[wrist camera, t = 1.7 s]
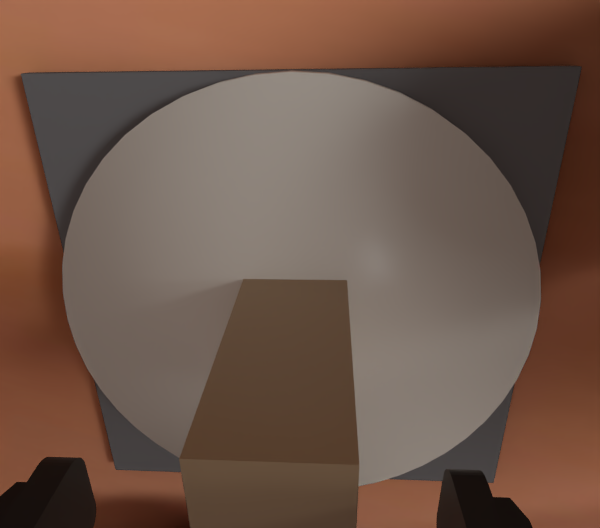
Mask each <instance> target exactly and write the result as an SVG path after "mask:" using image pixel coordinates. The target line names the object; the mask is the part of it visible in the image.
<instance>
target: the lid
mask: <svg viewBox="0 0 600 528" xmlns="http://www.w3.org/2000/svg"><path fill="white" fill-rule="evenodd" d="M62 278H63V297H64V302H65V308H66V314H67V319H68V323H69V326H70V329H71V332H72V335H73V338H74V341H75V344H76V346H77V349H78V351H79V353H80V355H81V357H82V359H83V361H84V363H85V365H86V367H87V369H88V371H89V372H90V374H91V375H92V377H93V378H94V380H95V382H96V383H97V385H98V386H99V388H100V389H101V391H102V392H103V393H104V394H105V396H106V397H107V398H108V399H109V400H110V402H111V403H112V404H113V405H114V406H115V408H116V409H117V410H118V411H119V412H120V413H121V414H122V415H123V416H124V417H125V418H126V419H127V420H128V421H129V422H130V423H131V424H132V425H133V426H134V427H136V428H137V429H138V430H139V431H141V432H142V433H143V434H144V435H146V436H147V437H148V438H150V439H151V440H152V441H153V442H155V443H156V444H158V445H159V446H161V447H162V448H164V449H166V450H167V451H169V452H170V453H172V454H174V455H175V456H177V457H179V461H180V468H181V474H182V480H183V486H184V492H185V498H186V505H187V511H188V517H189V523H190V528H356V523H357V503H358V486H362V485H367V484H372V483H376V482H380V481H383V480H386V479H389V478H393V477H396V476H399V475H402V474H404V473H406V472H409V471H411V470H413V469H416V468H418V467H421V466H423V465H425V464H427V463H428V462H430V461H432V460H434V459H436V458H437V457H439V456H441V455H443V454H445V453H446V452H448V451H449V450H451V449H452V448H453V447H455V446H456V445H458V444H459V443H460V442H462V441H463V440H465V439H466V438H467V437H468V436H470V435H471V434H472V433H473V432H474V431H475V430H476V429H477V428H478V427H479V426H481V425H482V424H483V423H484V422H485V421H486V420H487V419H488V418H489V417H490V415H491V414H492V413H493V412H494V411H495V410H496V408H497V407H498V406H499V405H500V404H501V403H502V401H503V400H504V399H505V397H506V396H507V394H508V393H509V391H510V389H511V388H512V386H513V385H514V383H515V382H516V380H517V379H518V377H519V375H520V372H521V370H522V368H523V366H524V364H525V362H526V360H527V358H528V355H529V353H530V349H531V346H532V343H533V340H534V336H535V333H536V330H537V324H538V317H539V311H540V304H541V271H540V266H539V260H538V254H537V248H536V242H535V240H534V237H533V234H532V231H531V228H530V225H529V222H528V219H527V216H526V213H525V211H524V209H523V208H522V206H521V204H520V202H519V200H518V198H517V196H516V194H515V192H514V191H513V189H512V187H511V185H510V184H509V182H508V181H507V180H506V178H505V177H504V176H503V174H502V173H501V172H500V170H499V169H498V168H497V166H496V165H495V164H494V162H493V161H492V160H491V158H490V157H489V156H488V155H487V154H486V153H485V152H484V151H483V150H482V149H481V148H480V147H479V146H478V145H477V144H476V143H475V142H474V141H473V140H472V139H471V138H470V137H468V136H467V135H466V134H465V133H464V132H463V131H461V130H460V129H459V128H457V127H456V126H455V125H453V124H452V123H450V122H449V121H448V120H446V119H445V118H444V117H442V116H441V115H439V114H438V113H437V112H435V111H434V110H432V109H431V108H429V107H427V106H425V105H424V104H422V103H420V102H418V101H416V100H414V99H412V98H410V97H408V96H406V95H404V94H403V93H401V92H398V91H396V90H393V89H390V88H387V87H384V86H381V85H379V84H376V83H373V82H370V81H367V80H364V79H359V78H354V77H349V76H344V75H339V74H334V73H329V72H312V71H295V70H290V71H278V72H266V73H255V74H251V75H247V76H242V77H238V78H233V79H229V80H225V81H221V82H218V83H216V84H213V85H210V86H208V87H205V88H203V89H200V90H197V91H195V92H192V93H190V94H187V95H185V96H183V97H181V98H179V99H177V100H175V101H174V102H172V103H170V104H168V105H167V106H165V107H163V108H161V109H159V110H158V111H156V112H154V113H152V114H151V115H150V116H148V117H147V118H146V119H145V120H143V121H142V122H141V123H139V124H138V125H137V126H136V127H134V128H133V129H132V130H131V131H129V132H128V133H127V134H126V135H124V137H123V138H122V139H121V140H120V141H119V142H118V143H117V144H116V145H115V146H114V147H113V148H112V149H111V151H110V152H109V153H108V154H107V155H106V156H105V157H104V158H103V159H102V161H101V162H100V164H99V165H98V167H97V168H96V170H95V171H94V173H93V174H92V176H91V177H90V179H89V180H88V182H87V183H86V185H85V187H84V189H83V191H82V194H81V196H80V198H79V200H78V202H77V204H76V207H75V209H74V211H73V214H72V218H71V221H70V225H69V228H68V232H67V235H66V239H65V247H64V255H63V264H62Z"/></svg>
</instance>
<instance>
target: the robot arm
mask: <svg viewBox="0 0 600 528" xmlns="http://www.w3.org/2000/svg"><path fill="white" fill-rule="evenodd" d="M95 518H96V503H95V499H94V495H93V492H92V488H91V484H90V480H89V477H88V473H87V469H86V465H85V462H84V460H83V459H82V458H67V457H46V458H44V459H43V460H42V461H41V462H40V463H39V465H38V466H37V468H36V469H35V471H34V472H33V474H32V475H31V477H30V478H29V480H28V481H27V482H16V483H15V484H14V485H13V486H12V487H11V488H9V489H8V490H7V491H6V492H5V493H4V494H2V495H1V496H0V528H93V527H94V523H95ZM437 528H532V525H531V523H530V521H529V519H528V518H527V517H526V516H525V515H524V514H523V512H522V511H521V510H520V509H519V508H518V507H517V506H516V504H515V503H514V502H513V501H512V500H511V499H510V498H501V497H493V496H492V493H491V491H490V488H489V485H488V482H487V480H486V477H485V475H484V473H483V472H482V471H481V470H467V469H446V470H445V471H444V475H443V481H442V487H441V493H440V499H439V506H438V512H437Z"/></svg>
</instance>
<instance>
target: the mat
mask: <svg viewBox="0 0 600 528" xmlns="http://www.w3.org/2000/svg"><path fill="white" fill-rule="evenodd" d="M581 68H582V67H581V66H508V67H431V68H353V69H275V70H198V71H120V72H43V73H23V74H21V76H22V81H23V85H24V89H25V93H26V97H27V101H28V106H29V110H30V114H31V118H32V122H33V126H34V131H35V135H36V139H37V143H38V147H39V151H40V156H41V160H42V164H43V168H44V172H45V176H46V181H47V185H48V189H49V193H50V197H51V201H52V206H53V210H54V214H55V218H56V222H57V226H58V231H59V235H60V239H61V243H62V247H63V252H64V247H65V239H66V235H67V232H68V228H69V225H70V221H71V218H72V214H73V211H74V209H75V207H76V204H77V202H78V200H79V198H80V196H81V194H82V191H83V189H84V187H85V185H86V183H87V182H88V180H89V179H90V177H91V176H92V174H93V173H94V171H95V170H96V168H97V167H98V165H99V164H100V162H101V161H102V159H103V158H104V157H105V156H106V155H107V154H108V153H109V152H110V151H111V149H112V148H113V147H114V146H115V145H116V144H117V143H118V142H119V141H120V140H121V139H122V138H123V137H124V135H126V134H127V133H128V132H129V131H131V130H132V129H133V128H134V127H136V126H137V125H138V124H139V123H141V122H142V121H143V120H145V119H146V118H147V117H148V116H150V115H151V114H152V113H154V112H156V111H158V110H159V109H161V108H163V107H165V106H167V105H168V104H170V103H172V102H174V101H175V100H177V99H179V98H181V97H183V96H185V95H187V94H190V93H192V92H195V91H197V90H200V89H203V88H205V87H208V86H210V85H213V84H216V83H218V82H221V81H225V80H229V79H233V78H238V77H242V76H247V75H251V74H255V73H266V72H278V71H290V70H295V71H312V72H329V73H334V74H339V75H344V76H349V77H354V78H359V79H364V80H367V81H370V82H373V83H376V84H379V85H381V86H384V87H387V88H390V89H393V90H396V91H398V92H401V93H403V94H404V95H406V96H408V97H410V98H412V99H414V100H416V101H418V102H420V103H422V104H424V105H425V106H427V107H429V108H431V109H432V110H434V111H435V112H437V113H438V114H439V115H441V116H442V117H444V118H445V119H446V120H448V121H449V122H450V123H452V124H453V125H455V126H456V127H457V128H459V129H460V130H461V131H463V132H464V133H465V134H466V135H467V136H468V137H470V138H471V139H472V140H473V141H474V142H475V143H476V144H477V145H478V146H479V147H480V148H481V149H482V150H483V151H484V152H485V153H486V154H487V155H488V156H489V157H490V158H491V160H492V161H493V162H494V164H495V165H496V166H497V168H498V169H499V170H500V172H501V173H502V174H503V176H504V177H505V178H506V180H507V181H508V182H509V184H510V185H511V187H512V189H513V191H514V192H515V194H516V196H517V198H518V200H519V202H520V204H521V206H522V208H523V209H524V211H525V213H526V216H527V219H528V222H529V225H530V228H531V231H532V234H533V237H534V240H535V242H536V248H537V254H538V260H539V266H540V261H541V256H542V252H543V247H544V242H545V237H546V233H547V228H548V223H549V219H550V214H551V209H552V204H553V200H554V195H555V190H556V186H557V181H558V176H559V171H560V167H561V162H562V157H563V153H564V148H565V143H566V138H567V134H568V129H569V124H570V120H571V115H572V110H573V105H574V101H575V96H576V91H577V87H578V82H579V77H580V72H581ZM94 381H95V380H94ZM514 384H515V383H514ZM95 385H96V389H97V393H98V397H99V402H100V406H101V410H102V414H103V418H104V423H105V427H106V431H107V435H108V439H109V443H110V448H111V452H112V456H113V460H114V464H115V468H116V470H138V471H167V472H181V468H180V461H179V457H177V456H175V455H174V454H172V453H170V452H169V451H167V450H166V449H164V448H162V447H161V446H159V445H158V444H156V443H155V442H153V441H152V440H151V439H150V438H148V437H147V436H146V435H144V434H143V433H142V432H141V431H139V430H138V429H137V428H136V427H134V426H133V425H132V424H131V423H130V422H129V421H128V420H127V419H126V418H125V417H124V416H123V415H122V414H121V413H120V412H119V411H118V410H117V409H116V408H115V406H114V405H113V404H112V403H111V402H110V400H109V399H108V398H107V397H106V396H105V394H104V393H103V392H102V391H101V389H100V388H99V386H98V385H97V383H96V382H95ZM513 388H514V385H513V386H512V388H511V389H510V391H509V393H508V394H507V396H506V397H505V399H504V400H503V401H502V403H501V404H500V405H499V406H498V407H497V408H496V410H495V411H494V412H493V413H492V414H491V415H490V417H489V418H488V419H487V420H486V421H485V422H484V423H483V424H482V425H481V426H479V427H478V428H477V429H476V430H475V431H474V432H473V433H472V434H471V435H470V436H468V437H467V438H466V439H465V440H463V441H462V442H460V443H459V444H458V445H456V446H455V447H453V448H452V449H451V450H449V451H448V452H446V453H445V454H443V455H441V456H439V457H437V458H436V459H434V460H432V461H430V462H428V463H427V464H425V465H423V466H421V467H418V468H416V469H413V470H411V471H409V472H406V473H404V474H402V475H399V476H396V477H393V478H389V479H401V480H430V481H443V475H444V471H445V470H446V469H467V470H481V471H482V472H483V473H484V475H485V477H486V480H487V482H488V483H494V478H495V473H496V468H497V464H498V459H499V454H500V450H501V445H502V440H503V435H504V431H505V426H506V421H507V417H508V412H509V407H510V402H511V398H512V393H513Z"/></svg>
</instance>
